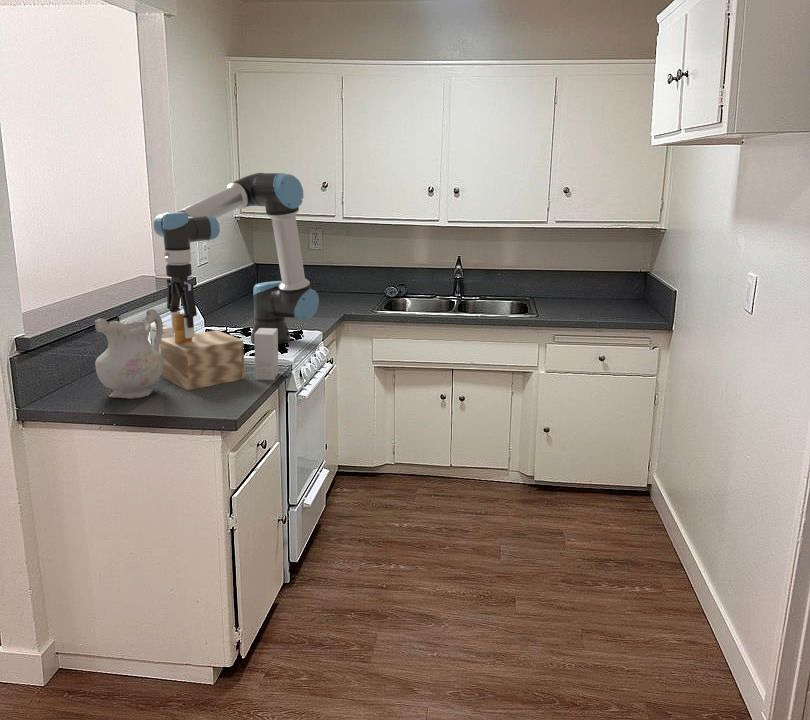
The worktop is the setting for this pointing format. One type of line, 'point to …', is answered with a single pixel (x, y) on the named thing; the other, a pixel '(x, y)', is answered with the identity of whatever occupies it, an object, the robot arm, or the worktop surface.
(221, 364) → the carton
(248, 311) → the worktop surface
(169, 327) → the syrup box
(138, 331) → the ceramic pitcher
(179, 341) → the lid
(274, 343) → the skincare box
